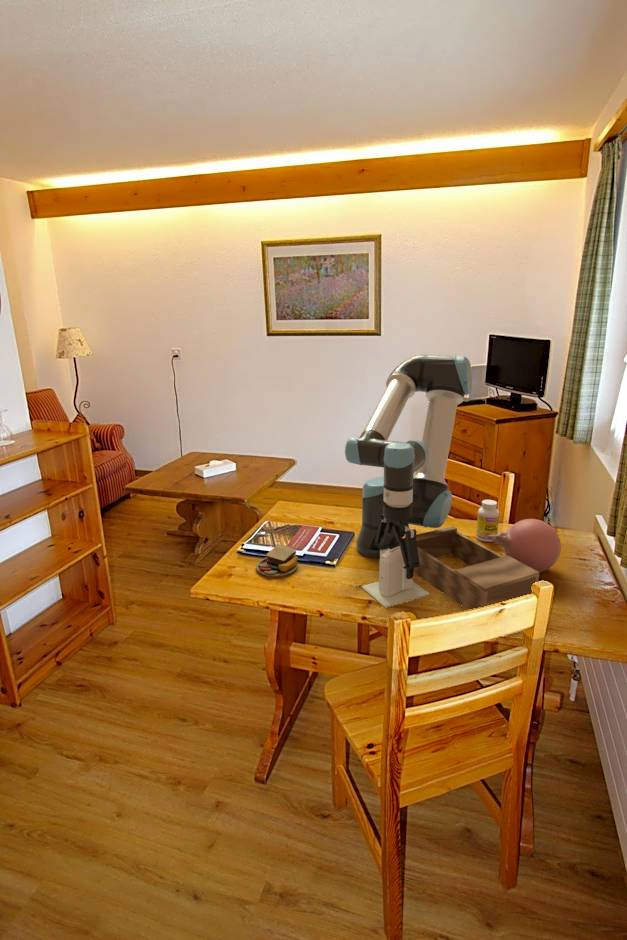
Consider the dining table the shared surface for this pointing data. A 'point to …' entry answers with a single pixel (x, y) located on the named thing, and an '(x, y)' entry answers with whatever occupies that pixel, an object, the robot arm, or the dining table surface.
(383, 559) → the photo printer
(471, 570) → the walnut box
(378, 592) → the felt mat
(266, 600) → the dining table surface
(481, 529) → the supplement bottle
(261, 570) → the toy sandwich meal
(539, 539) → the pink rubber bulb
